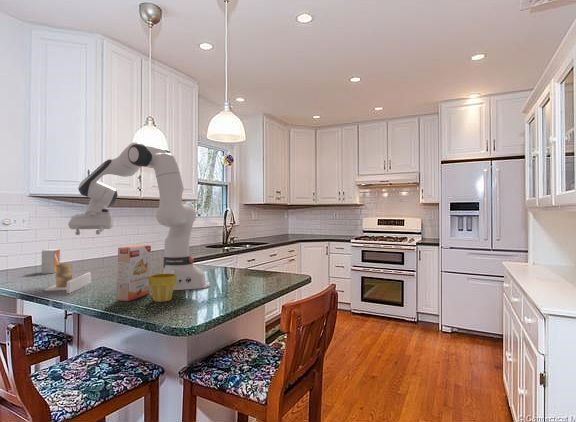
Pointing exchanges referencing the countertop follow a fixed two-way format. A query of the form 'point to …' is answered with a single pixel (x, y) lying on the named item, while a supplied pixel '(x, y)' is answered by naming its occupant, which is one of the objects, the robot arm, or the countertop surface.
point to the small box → (50, 260)
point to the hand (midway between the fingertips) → (87, 233)
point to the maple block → (63, 274)
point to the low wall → (78, 282)
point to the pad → (55, 288)
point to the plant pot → (162, 286)
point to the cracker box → (133, 272)
